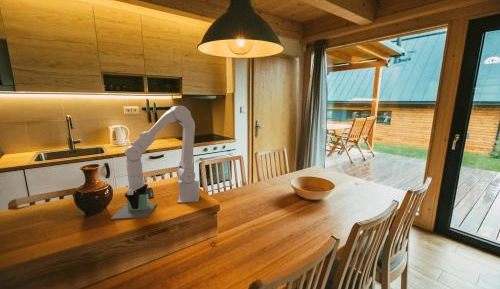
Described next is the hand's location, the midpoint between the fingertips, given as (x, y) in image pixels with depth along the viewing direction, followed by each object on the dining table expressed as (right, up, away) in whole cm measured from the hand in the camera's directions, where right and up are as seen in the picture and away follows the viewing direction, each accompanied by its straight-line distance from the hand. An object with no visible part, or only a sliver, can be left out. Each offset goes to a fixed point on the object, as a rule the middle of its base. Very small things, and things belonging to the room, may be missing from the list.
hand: (138, 204), depth 99 cm
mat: (-1, -3, -1) cm, 3 cm away
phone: (-6, 0, +19) cm, 20 cm away
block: (0, -2, 0) cm, 2 cm away
